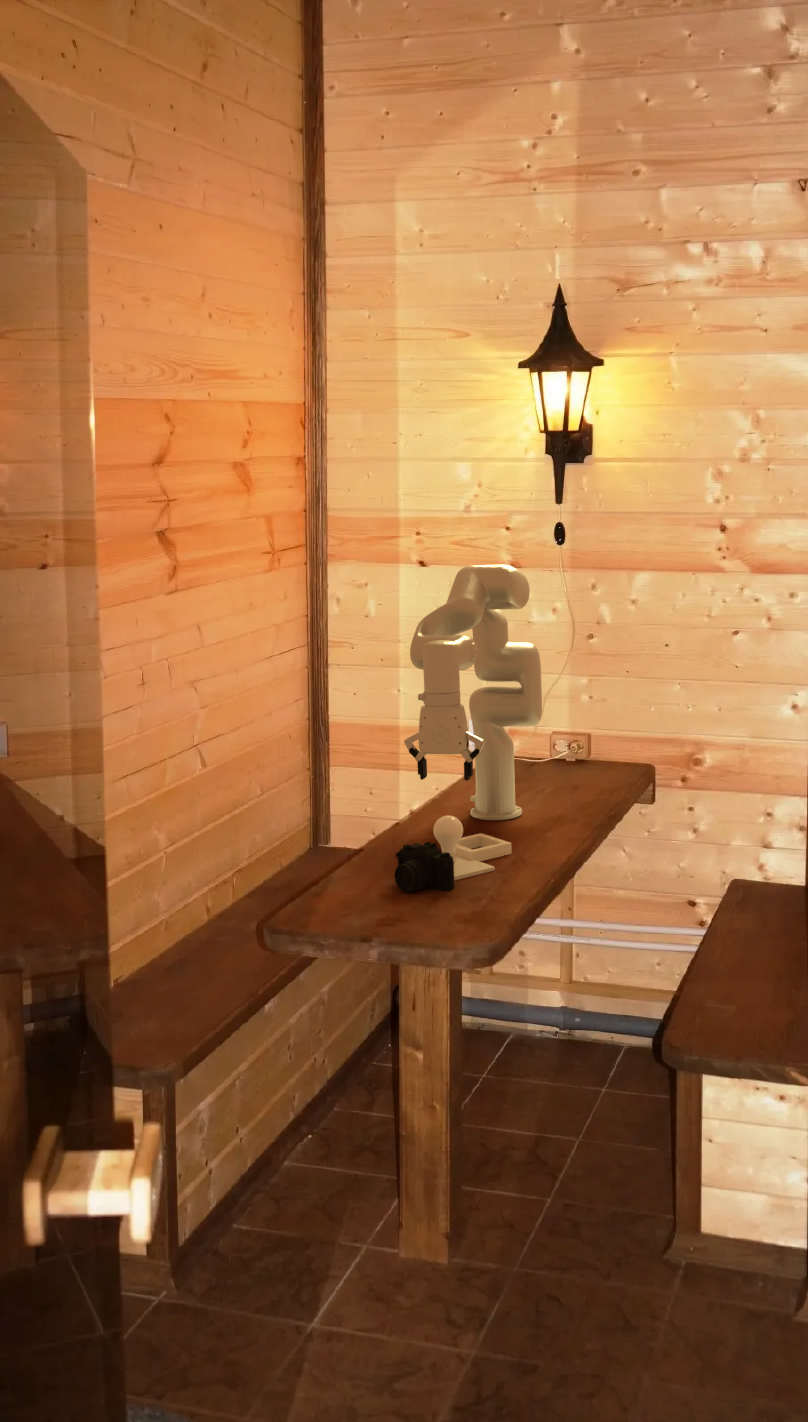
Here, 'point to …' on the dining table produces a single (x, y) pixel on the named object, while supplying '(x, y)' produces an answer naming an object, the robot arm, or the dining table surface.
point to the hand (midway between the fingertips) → (445, 778)
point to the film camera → (424, 868)
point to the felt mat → (469, 867)
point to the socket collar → (489, 847)
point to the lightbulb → (448, 834)
